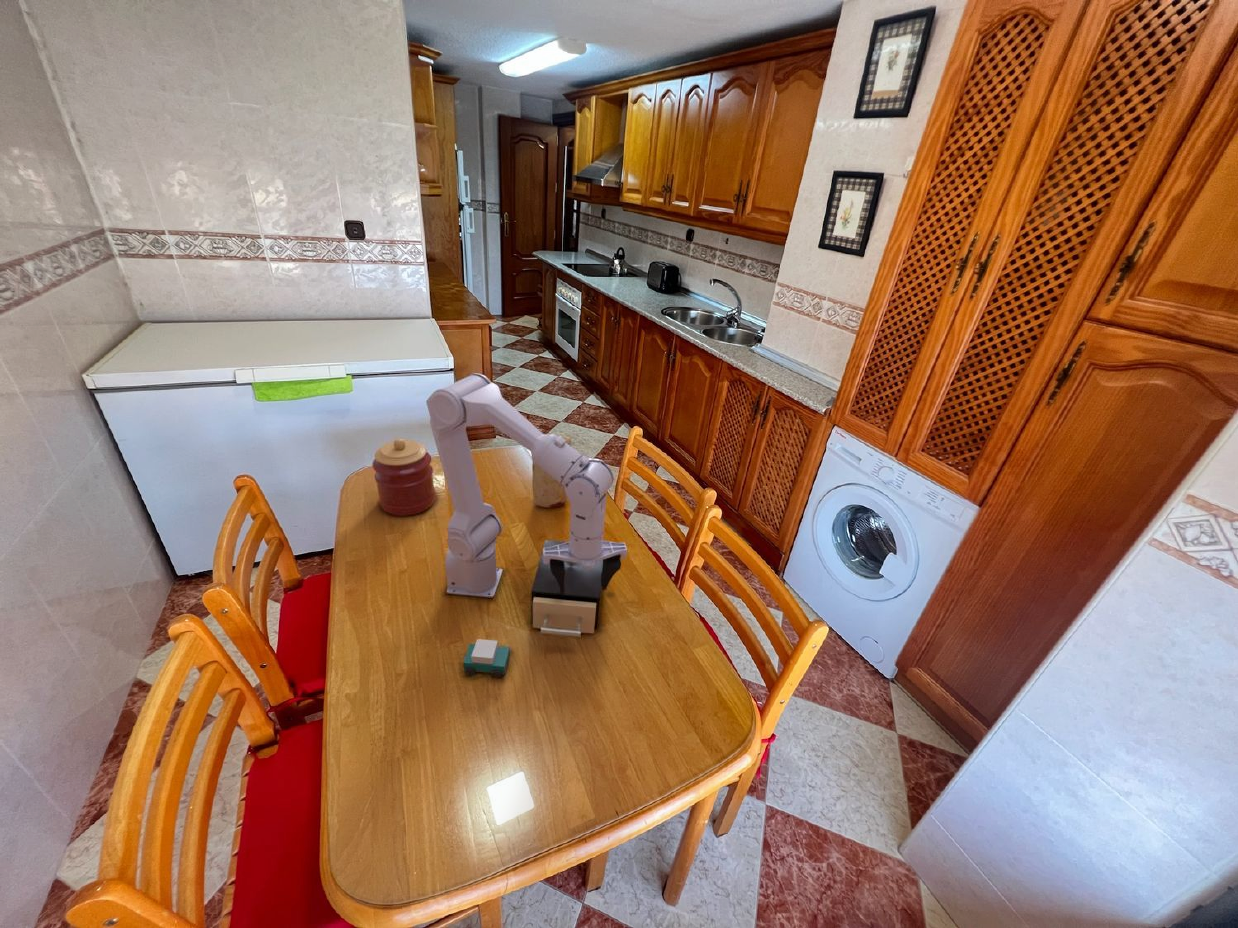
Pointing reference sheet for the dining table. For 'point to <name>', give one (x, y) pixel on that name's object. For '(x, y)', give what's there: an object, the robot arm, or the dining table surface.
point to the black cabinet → (569, 581)
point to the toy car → (486, 658)
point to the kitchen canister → (404, 477)
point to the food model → (548, 486)
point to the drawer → (563, 615)
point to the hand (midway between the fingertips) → (582, 587)
